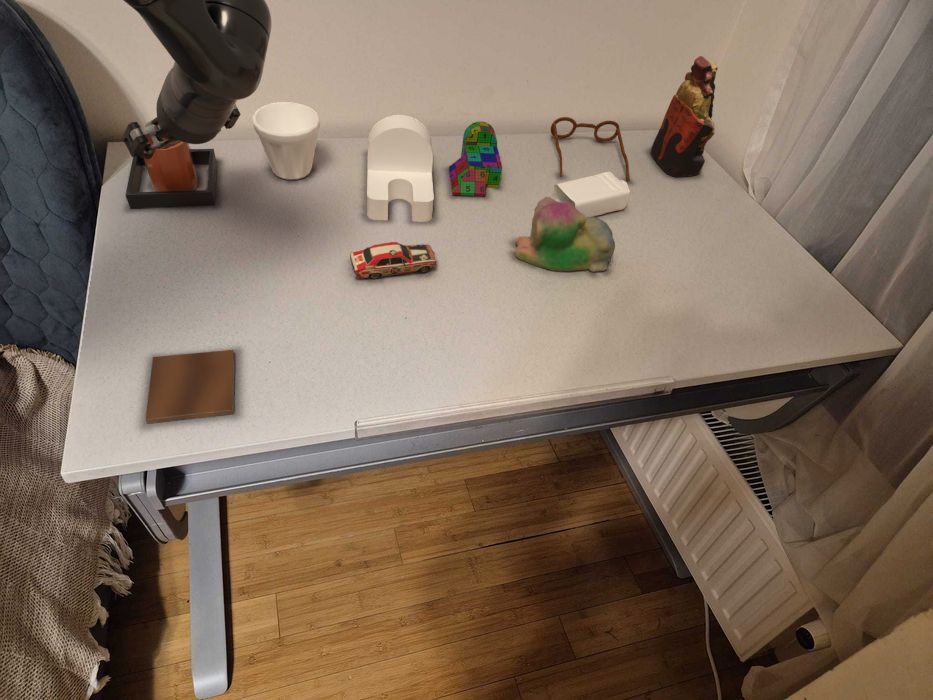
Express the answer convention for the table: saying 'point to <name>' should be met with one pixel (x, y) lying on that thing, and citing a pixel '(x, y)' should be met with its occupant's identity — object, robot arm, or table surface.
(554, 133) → the glasses
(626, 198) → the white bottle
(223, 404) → the walnut board
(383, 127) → the bracket
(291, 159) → the cup
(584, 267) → the sculpture
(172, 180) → the terracotta cup
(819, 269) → the table surface
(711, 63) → the statue
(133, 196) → the dark grey square frame
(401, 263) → the race car
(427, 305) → the table surface
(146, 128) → the robot arm
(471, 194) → the multicoloured toy chair
